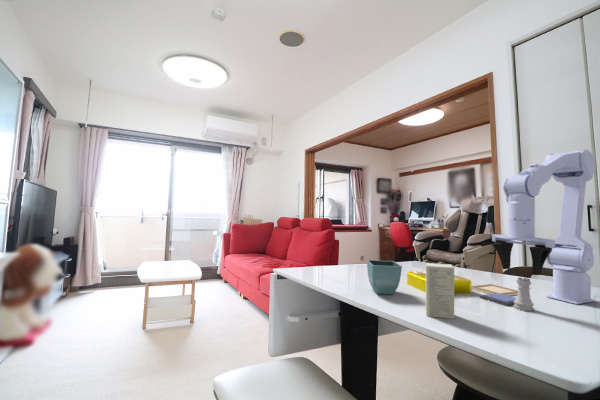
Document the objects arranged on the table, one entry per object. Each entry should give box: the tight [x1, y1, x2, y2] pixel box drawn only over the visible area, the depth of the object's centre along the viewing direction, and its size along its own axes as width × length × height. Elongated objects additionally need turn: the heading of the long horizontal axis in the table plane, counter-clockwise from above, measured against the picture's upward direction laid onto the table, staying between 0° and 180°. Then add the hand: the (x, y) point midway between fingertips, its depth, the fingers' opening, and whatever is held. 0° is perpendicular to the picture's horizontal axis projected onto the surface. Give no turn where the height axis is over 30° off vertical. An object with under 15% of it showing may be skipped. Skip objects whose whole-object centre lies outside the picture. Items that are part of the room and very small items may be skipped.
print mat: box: [471, 283, 518, 297], centre depth 100 cm, size 11×11×1 cm
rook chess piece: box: [512, 277, 535, 312], centre depth 82 cm, size 4×4×8 cm
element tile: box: [406, 270, 472, 295], centre depth 102 cm, size 15×15×5 cm
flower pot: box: [366, 259, 403, 295], centre depth 94 cm, size 9×9×9 cm
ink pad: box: [479, 293, 517, 307], centre depth 89 cm, size 8×8×1 cm
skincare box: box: [425, 262, 455, 320], centre depth 75 cm, size 6×4×12 cm
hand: (520, 271), depth 82 cm, fingers open, 7 cm apart
